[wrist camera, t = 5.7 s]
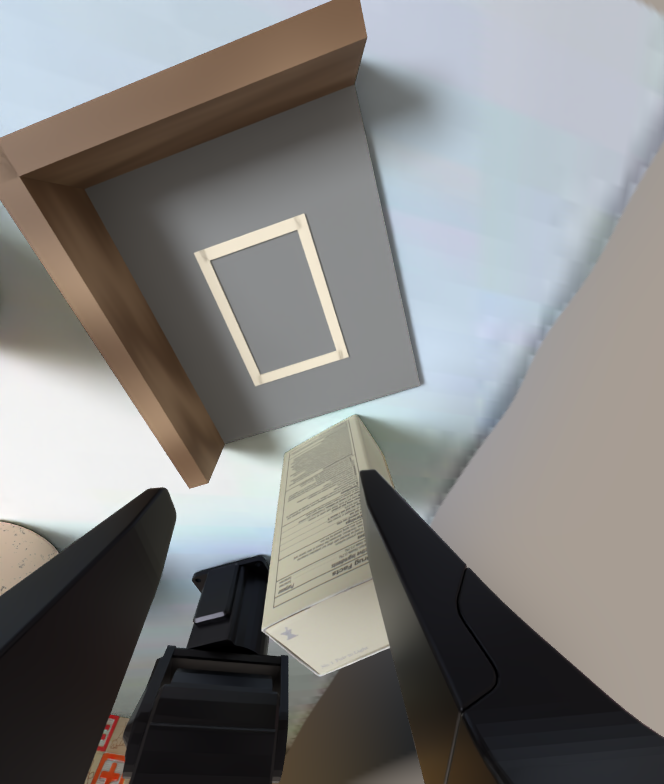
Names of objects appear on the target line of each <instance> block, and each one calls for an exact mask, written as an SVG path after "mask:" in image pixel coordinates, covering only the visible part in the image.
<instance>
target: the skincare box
mask: <svg viewBox="0 0 664 784" xmlns="http://www.w3.org/2000/svg"><path fill="white" fill-rule="evenodd" d="M368 469H375V470H376V471H377V472H378V473H379V474H380V475H381V476H382V477H383V478H384V479H385V480H386V481H387V482H388V483H389V484H390V485H391V486H392V487H393V488H394V485H393V482H392V478H391V475H390V472H389V469H388V466H387V463H386V460H385V457H384V455H383V453H382V451H381V450H380V448H379V447H378V445H377V443H376V442H375V440H374V439H373V437H372V436H371V434H370V433H369V431H368V430H367V428H366V427H365V425H364V424H363V422H362V421H361V419H360V418H359V417H358V416H357V415H352V416H350V417H348V418H347V419H345V420H343V421H341V422H339V423H337V424H335V425H334V426H332V427H330V428H328V429H326V430H325V431H323V432H321V433H319V434H317V435H316V436H314V437H312V438H310V439H308V440H307V441H305V442H303V443H301V444H299V445H298V446H296V447H295V448H293V449H291V450H290V451H288V452H286V453H285V455H284V461H283V468H282V477H281V484H280V492H279V500H278V507H277V514H276V523H275V530H274V538H273V545H272V553H271V561H270V569H269V577H268V584H267V592H266V599H265V606H264V614H263V622H262V630H261V631H262V632H263V633H265V634H266V635H267V636H269V637H270V638H271V639H272V640H273V641H275V642H276V643H277V644H278V645H279V646H280V647H282V648H283V649H284V650H285V651H287V652H288V653H289V654H291V655H292V656H293V657H294V658H296V659H297V660H298V661H299V662H300V663H302V664H303V665H304V666H306V667H307V668H308V669H309V670H311V671H312V672H313V673H315V674H316V675H317V676H323V675H325V674H327V673H330V672H333V671H335V670H337V669H340V668H342V667H345V666H347V665H349V664H352V663H354V662H357V661H358V660H361V659H364V658H366V657H368V656H371V655H374V654H376V653H378V652H380V651H382V650H385V649H388V648H390V645H389V641H388V637H387V633H386V629H385V625H384V622H383V618H382V614H381V610H380V606H379V602H378V598H377V594H376V590H375V586H374V582H373V578H372V574H371V570H370V566H369V561H368V555H367V548H366V541H365V533H364V526H363V518H362V510H361V503H360V488H359V472H360V471H361V470H368ZM394 489H395V488H394Z"/></svg>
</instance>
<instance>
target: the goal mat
mask: <svg viewBox="0 0 664 784" xmlns="http://www.w3.org/2000/svg"><path fill="white" fill-rule="evenodd" d="M85 191H86V193H87V195H88V197H89V198H90V200H91V202H92V204H93V206H94V207H95V209H96V211H97V213H98V215H99V217H100V218H101V220H102V222H103V224H104V226H105V227H106V229H107V231H108V233H109V235H110V237H111V238H112V240H113V242H114V244H115V246H116V247H117V249H118V251H119V253H120V255H121V256H122V258H123V260H124V262H125V264H126V266H127V267H128V269H129V271H130V273H131V275H132V276H133V278H134V280H135V282H136V284H137V285H138V287H139V289H140V291H141V293H142V295H143V296H144V298H145V300H146V302H147V304H148V305H149V307H150V309H151V311H152V313H153V314H154V316H155V318H156V320H157V322H158V324H159V325H160V327H161V329H162V331H163V333H164V334H165V336H166V338H167V340H168V342H169V343H170V345H171V347H172V349H173V351H174V353H175V354H176V356H177V358H178V360H179V362H180V363H181V365H182V367H183V369H184V371H185V372H186V374H187V376H188V378H189V380H190V382H191V383H192V385H193V387H194V389H195V391H196V392H197V394H198V396H199V398H200V400H201V402H202V403H203V405H204V407H205V409H206V411H207V412H208V414H209V416H210V418H211V420H212V421H213V423H214V425H215V427H216V429H217V431H218V432H219V434H220V436H221V438H222V440H223V441H224V443H225V444H227V443H230V442H233V441H237V440H240V439H243V438H247V437H250V436H253V435H257V434H260V433H263V432H267V431H270V430H273V429H277V428H280V427H283V426H287V425H290V424H293V423H297V422H300V421H303V420H307V419H310V418H313V417H317V416H320V415H323V414H327V413H330V412H333V411H337V410H340V409H343V408H347V407H350V406H353V405H357V404H360V403H363V402H367V401H370V400H373V399H377V398H380V397H383V396H387V395H390V394H393V393H397V392H400V391H403V390H407V389H410V388H413V387H417V386H420V381H419V377H418V372H417V368H416V363H415V358H414V354H413V349H412V345H411V340H410V336H409V331H408V326H407V322H406V317H405V313H404V308H403V304H402V299H401V294H400V290H399V285H398V281H397V276H396V271H395V267H394V262H393V258H392V253H391V249H390V244H389V239H388V235H387V230H386V226H385V221H384V217H383V212H382V207H381V203H380V198H379V194H378V189H377V185H376V180H375V175H374V171H373V166H372V162H371V157H370V153H369V148H368V143H367V139H366V134H365V130H364V125H363V121H362V116H361V111H360V107H359V102H358V98H357V93H356V88H355V84H354V85H351V86H349V87H346V88H343V89H341V90H338V91H336V92H333V93H331V94H328V95H325V96H323V97H320V98H318V99H315V100H312V101H310V102H307V103H305V104H302V105H300V106H297V107H294V108H292V109H289V110H287V111H284V112H282V113H279V114H276V115H274V116H271V117H269V118H266V119H264V120H261V121H258V122H256V123H253V124H251V125H248V126H246V127H243V128H240V129H238V130H235V131H233V132H230V133H227V134H225V135H222V136H220V137H217V138H215V139H212V140H209V141H207V142H204V143H202V144H199V145H197V146H194V147H191V148H189V149H186V150H184V151H181V152H179V153H176V154H173V155H171V156H168V157H166V158H163V159H161V160H158V161H155V162H153V163H150V164H148V165H145V166H143V167H140V168H137V169H135V170H132V171H130V172H127V173H124V174H122V175H119V176H117V177H114V178H112V179H109V180H106V181H104V182H101V183H99V184H96V185H94V186H91V187H88V188H86V189H85Z"/></svg>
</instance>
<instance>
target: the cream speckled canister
mask: <svg viewBox="0 0 664 784" xmlns="http://www.w3.org/2000/svg"><path fill="white" fill-rule="evenodd" d="M57 554H59V552H58V551H57V550H56V548H55V547H54V546H53V545H52V544H51V543H50V542H48V541H47V540H46V539H45V538H43V537H42V536H40V535H38V534H37V533H35V532H33V531H31V530H29V529H26V528H24V527H21V526H18V525H15V524H11V523H6V522H0V596H1V595H2V594H3V593H5V592H6V591H8V590H9V589H10V588H12V587H13V586H14V585H16V584H17V583H19V582H20V581H21V580H23V579H24V578H25V577H27V576H28V575H30V574H31V573H32V572H34V571H35V570H37V569H38V568H39V567H41V566H42V565H43V564H45V563H46V562H48V561H49V560H50V559H52V558H53V557H55V556H56V555H57Z"/></svg>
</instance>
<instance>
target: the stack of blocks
mask: <svg viewBox="0 0 664 784" xmlns="http://www.w3.org/2000/svg"><path fill="white" fill-rule="evenodd" d="M128 721H129V718H124V717H119V716H115V715H110V716H109V719H108V721H107V724H106V727H105V729H104V732H103V735H102V737H101V740H100V743H99V746H98V748H97V751H96V754H95V756H94V759H93V762H92V764H91V767H90V770H89V772H88V775H87V778H86V780H85V783H84V784H129V782H130V779H123V777H122V774H123V768H124V763H125V752H126V746H125V744H124V741H123V738H122V737H123V733H124V730H125V727H126V725H127V723H128Z"/></svg>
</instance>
